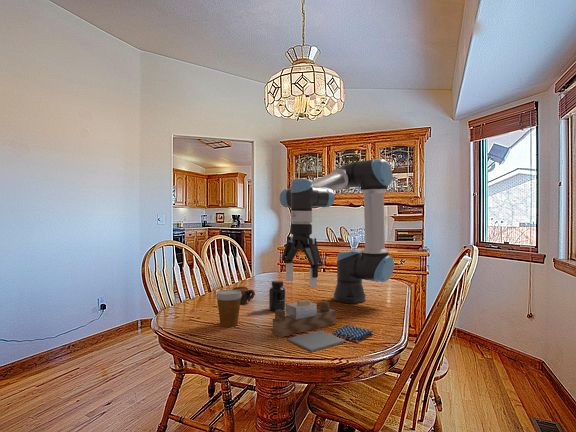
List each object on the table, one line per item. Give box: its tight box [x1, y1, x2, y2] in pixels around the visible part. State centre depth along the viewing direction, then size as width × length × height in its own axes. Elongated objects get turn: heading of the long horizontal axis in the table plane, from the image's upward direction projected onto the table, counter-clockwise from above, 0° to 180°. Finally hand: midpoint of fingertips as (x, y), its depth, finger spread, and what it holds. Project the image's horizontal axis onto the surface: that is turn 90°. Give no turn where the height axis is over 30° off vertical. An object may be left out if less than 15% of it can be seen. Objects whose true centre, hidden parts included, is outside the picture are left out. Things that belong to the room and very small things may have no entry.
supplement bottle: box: [268, 280, 286, 312], centre depth 153 cm, size 7×7×12 cm
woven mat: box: [331, 324, 374, 343], centre depth 120 cm, size 10×11×2 cm
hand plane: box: [272, 300, 337, 338], centre depth 127 cm, size 25×4×8 cm, turn 126°
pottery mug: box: [232, 286, 256, 305], centre depth 166 cm, size 12×10×8 cm
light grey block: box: [285, 299, 318, 320], centre depth 126 cm, size 9×6×5 cm, turn 126°
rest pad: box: [287, 329, 347, 353], centre depth 114 cm, size 14×12×1 cm
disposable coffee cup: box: [215, 288, 242, 328], centre depth 132 cm, size 10×10×12 cm
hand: (300, 284), depth 126 cm, fingers open, 13 cm apart
